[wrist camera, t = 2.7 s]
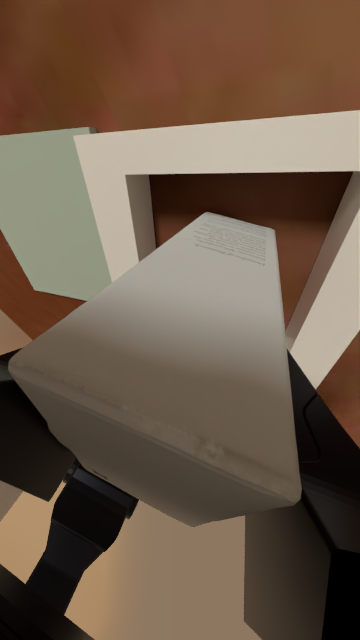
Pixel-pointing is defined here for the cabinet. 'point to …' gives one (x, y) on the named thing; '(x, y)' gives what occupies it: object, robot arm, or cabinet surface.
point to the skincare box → (178, 377)
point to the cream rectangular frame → (240, 157)
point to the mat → (51, 213)
